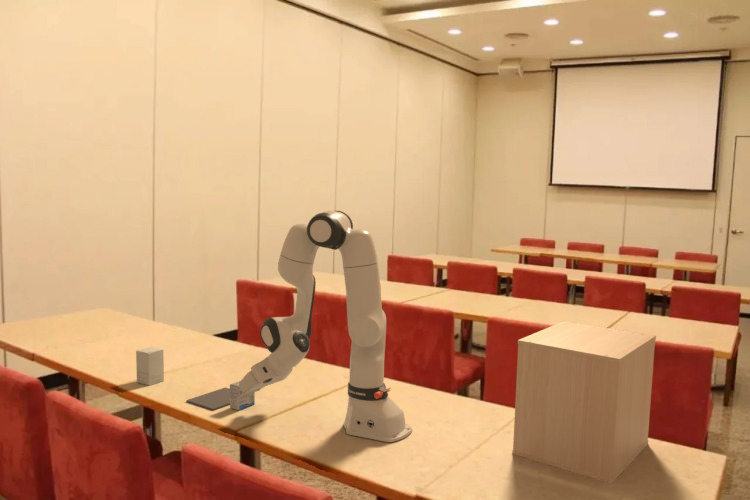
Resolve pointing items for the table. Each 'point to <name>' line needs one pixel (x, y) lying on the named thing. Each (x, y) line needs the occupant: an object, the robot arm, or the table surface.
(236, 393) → the medicine box
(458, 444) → the table surface
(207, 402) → the mat
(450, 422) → the table surface
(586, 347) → the cabinet
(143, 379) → the supplement box
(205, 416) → the table surface
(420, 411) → the table surface
